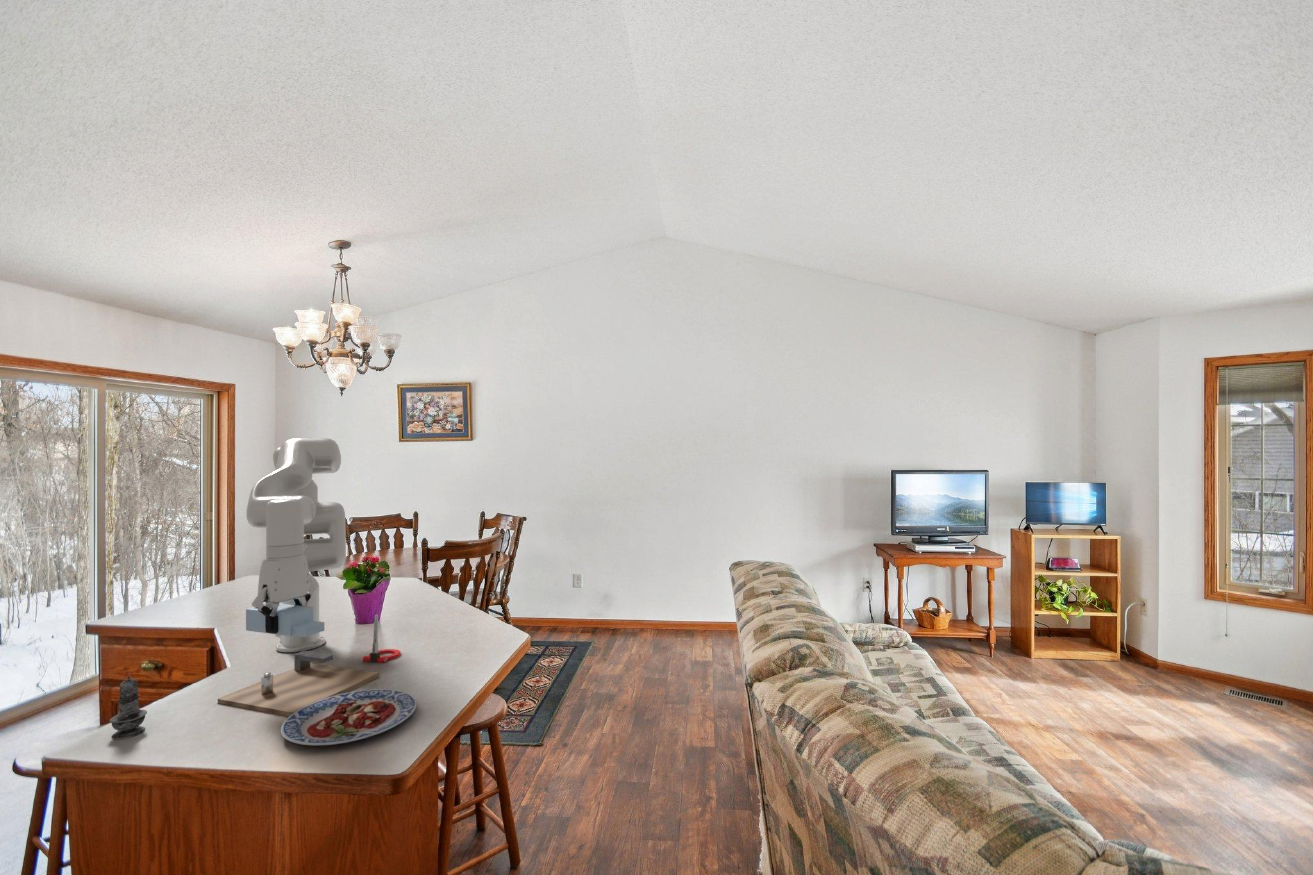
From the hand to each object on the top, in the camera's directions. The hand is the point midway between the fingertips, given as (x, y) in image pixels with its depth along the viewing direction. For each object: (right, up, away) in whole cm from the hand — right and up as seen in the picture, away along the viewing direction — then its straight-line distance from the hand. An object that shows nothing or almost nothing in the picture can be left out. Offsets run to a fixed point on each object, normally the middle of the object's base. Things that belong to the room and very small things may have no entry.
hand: (285, 627), depth 139 cm
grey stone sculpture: (-23, -17, -16) cm, 33 cm away
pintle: (-5, -17, +2) cm, 18 cm away
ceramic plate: (+22, -17, -12) cm, 30 cm away
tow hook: (+10, -18, +28) cm, 35 cm away
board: (0, -17, +6) cm, 18 cm away
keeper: (-2, -16, +15) cm, 22 cm away
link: (0, -1, 0) cm, 1 cm away
